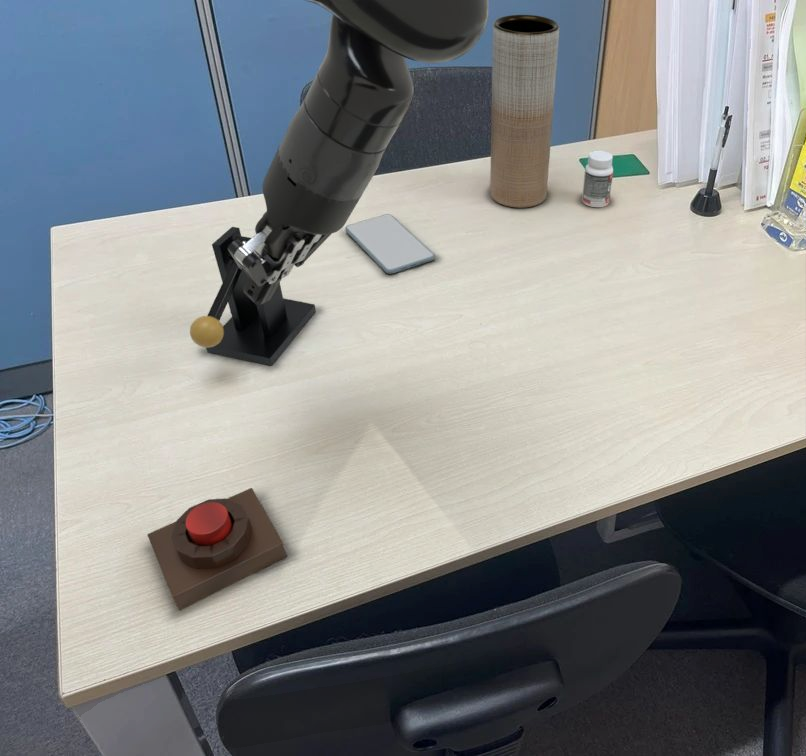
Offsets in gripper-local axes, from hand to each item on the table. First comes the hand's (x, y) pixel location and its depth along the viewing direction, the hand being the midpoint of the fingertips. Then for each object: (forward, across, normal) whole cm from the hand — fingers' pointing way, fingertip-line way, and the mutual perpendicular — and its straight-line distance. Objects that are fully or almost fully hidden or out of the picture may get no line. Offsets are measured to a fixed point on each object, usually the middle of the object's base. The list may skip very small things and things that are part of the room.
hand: (255, 296), depth 69 cm
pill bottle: (-2, -69, +14) cm, 70 cm away
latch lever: (+13, -9, -7) cm, 17 cm away
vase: (+6, -65, +3) cm, 65 cm away
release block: (+14, +14, +15) cm, 25 cm away
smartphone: (+14, -40, -4) cm, 43 cm away
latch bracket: (+20, -14, -4) cm, 25 cm away
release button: (+11, +14, +13) cm, 22 cm away
